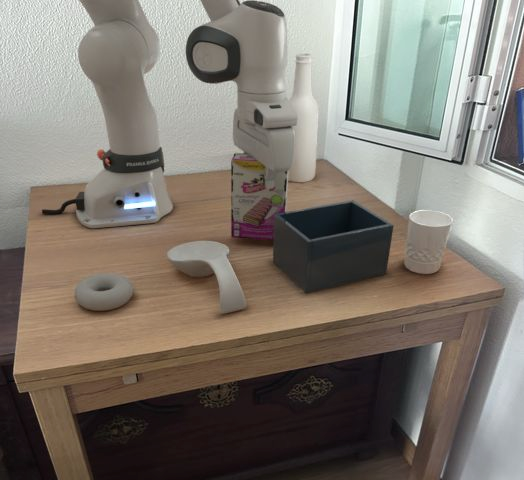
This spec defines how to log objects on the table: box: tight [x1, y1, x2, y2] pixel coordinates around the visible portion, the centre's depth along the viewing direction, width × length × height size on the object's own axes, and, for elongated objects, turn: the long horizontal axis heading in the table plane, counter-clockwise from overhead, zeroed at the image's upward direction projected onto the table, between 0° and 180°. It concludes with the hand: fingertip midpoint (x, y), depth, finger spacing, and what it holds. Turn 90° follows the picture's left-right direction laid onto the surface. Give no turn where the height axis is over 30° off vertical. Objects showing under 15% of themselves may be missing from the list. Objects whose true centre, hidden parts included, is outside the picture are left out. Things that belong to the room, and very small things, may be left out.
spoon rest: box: [166, 240, 247, 315], centre depth 99 cm, size 24×12×7 cm, turn 26°
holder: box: [272, 200, 395, 294], centre depth 103 cm, size 18×14×10 cm
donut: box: [74, 272, 134, 312], centre depth 95 cm, size 10×4×10 cm
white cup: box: [403, 209, 454, 275], centre depth 103 cm, size 8×8×10 cm
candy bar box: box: [230, 152, 289, 241], centre depth 110 cm, size 11×5×16 cm, turn 85°
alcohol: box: [288, 53, 320, 183], centre depth 140 cm, size 9×9×30 cm
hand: (260, 181), depth 107 cm, fingers closed on candy bar box, 6 cm apart
